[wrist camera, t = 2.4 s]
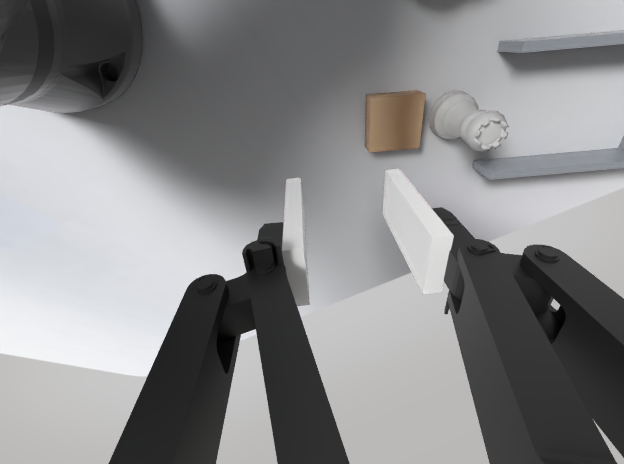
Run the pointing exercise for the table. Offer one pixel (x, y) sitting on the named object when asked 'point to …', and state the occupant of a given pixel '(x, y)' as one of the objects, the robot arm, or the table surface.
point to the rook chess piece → (467, 121)
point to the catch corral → (559, 161)
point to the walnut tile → (393, 120)
